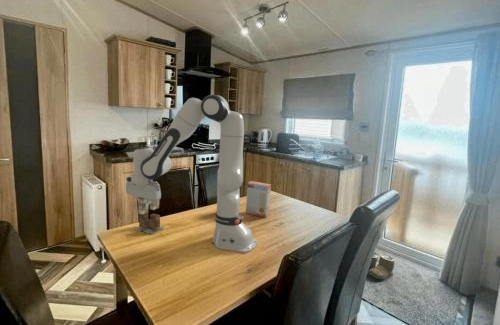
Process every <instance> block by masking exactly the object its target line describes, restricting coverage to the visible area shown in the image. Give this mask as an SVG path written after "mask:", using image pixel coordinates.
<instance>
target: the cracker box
mask: <svg viewBox="0 0 500 325" xmlns="http://www.w3.org/2000/svg"><path fill="white" fill-rule="evenodd" d="M246 188H247V190H246V205H245V209H246V210H245V214H247V215H251V216H255V217H260V218H264V219H266V218H267V217H269V215H270V206H271V205H270V204H271V193H272V192H271V191H272V184H270V183H264V182H261V181H254V180H251V181H248V182H247V187H246Z"/></svg>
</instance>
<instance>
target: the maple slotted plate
mask: <svg viewBox="0 0 500 325" xmlns="http://www.w3.org/2000/svg"><path fill="white" fill-rule="evenodd" d="M145 202H146V200H145V198H138V201H137V206H138V215H139V214H145V213H147V212H148V213H149V210H152V211H155V210H157V209H159V208H160V199H159V200H157V201H153V200H150V202H149V206H148V207H145V206H144V203H145Z"/></svg>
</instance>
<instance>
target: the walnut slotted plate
mask: <svg viewBox="0 0 500 325" xmlns="http://www.w3.org/2000/svg"><path fill="white" fill-rule="evenodd" d="M149 216H150V219H149ZM162 229H163V230H164V227H163V226H161V215H160V214H158V213H152V214H150V215H149V211H148V212H147V213H145V214H138V226H136V227H135V228H134V230H136V231H138V232H142V231H143V233H145V232H146V233H145V234H149V233H150V234H149V235H152V234H153V235H155V234H157V233H159V232H161V231H162ZM160 230H161V231H160ZM158 231H159V232H158ZM156 232H157V233H156ZM154 233H155V234H154Z"/></svg>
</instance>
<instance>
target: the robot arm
mask: <svg viewBox="0 0 500 325" xmlns="http://www.w3.org/2000/svg"><path fill="white" fill-rule="evenodd" d="M230 107H231V106H230V103H229V101H228V100H227V99H226V98H224V97H223V96H221V95H219V94H218V95H217V94H209V95H206V96H205V97H204V98H203V99H202V100H201V99H200V98H197V97H190V98H188V99H187V100H186V101H185V102H184V104H183V105H182V106H181V107H180V109H179V110H178V112H177V113H176V114H175V116H174V119H173V120H172V121H171V124H170V125H169V127H168V129H167V131H166V132H165V134H164V136H163V137H162V139H161V140H160V142H159V143H158V144H157V146H156V147H155V148H154V149H153V148H152V147H151V146H143V147H138V148H136V149H134V152H133V159H132V162H133V164H132V165H133V168H134V170H133V172H132V173H133V174H132V175H129V176H126V177H125V181H126V182H125V193H126V194H127V195H129V196H133V197H135V198H136V201H137V202H138V198H145V200H146V202H145V203H144V206H145V207H148V208H149V207H150V204H149V202H150V200H153V201H157V200H159V201H160V200H161V198H162V191H161V186H160V183H158V182H157V181H155V180H157V179H158V178H160V177H161V176H163V175H164V174H166V173H168V172H169V171H170V170H172V166H173V161H172V159H171V158H170V154H171V152H172V151H173V150H174V149H175V148H176V147H177V145H179V144H181V143H182V142H184V141H186V140H187V139H189V138H190V137H191V136H192V135H193V134H194V132H196V130H197V129H198V126H199V125H200V124H201V122H202V121H203V120H204V119H205V118H207V119H209V120H212V121H215V122H217V123H219V124H220V132H219V133H220V134H219V136H220V140H219V152H218V154H219V162H218V163H219V167H218V169H217V178H216V180H217V185H216V186H217V188H216V189H217V192H216V194H217V195H216V199H217V200H216V212H215V220H214V221H215V228H214V233H213V236H212V237H211V238H212V239H211V240H212V243H213V244H214V245H215V248H216V249H221V250H224V251H225V250H228V251H232V252H239V253H245V254H246V253H249V252H251V251H253V250H254V249H255V248H256V246H257V244H258V242H257V241H258V240H257V239H256V238H254V235H253V231H252V230H251V229H250V228H249V226H247V225H246V224H245V223H244V222H243V219H244V215H242V216H241V215H240V200H241V199H240V198H241V196H240V188H241V187H242V185H243V182H244V156H243V155H244V152H243V151H244V138H245V124H244V123H245V122H244V117H243V115H242V114H241V113H240V112H237V111H233V110H231V109H230Z"/></svg>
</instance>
